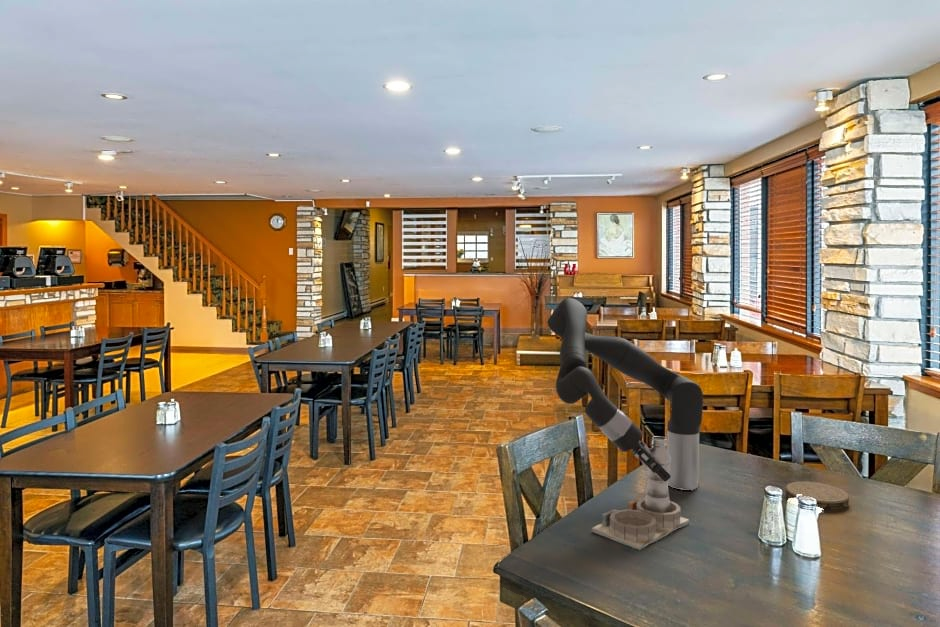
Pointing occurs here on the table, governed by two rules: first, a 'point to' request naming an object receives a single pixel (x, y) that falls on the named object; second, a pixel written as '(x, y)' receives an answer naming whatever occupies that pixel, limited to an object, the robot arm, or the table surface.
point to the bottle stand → (640, 523)
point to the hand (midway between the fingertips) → (664, 474)
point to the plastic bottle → (658, 478)
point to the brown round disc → (820, 494)
